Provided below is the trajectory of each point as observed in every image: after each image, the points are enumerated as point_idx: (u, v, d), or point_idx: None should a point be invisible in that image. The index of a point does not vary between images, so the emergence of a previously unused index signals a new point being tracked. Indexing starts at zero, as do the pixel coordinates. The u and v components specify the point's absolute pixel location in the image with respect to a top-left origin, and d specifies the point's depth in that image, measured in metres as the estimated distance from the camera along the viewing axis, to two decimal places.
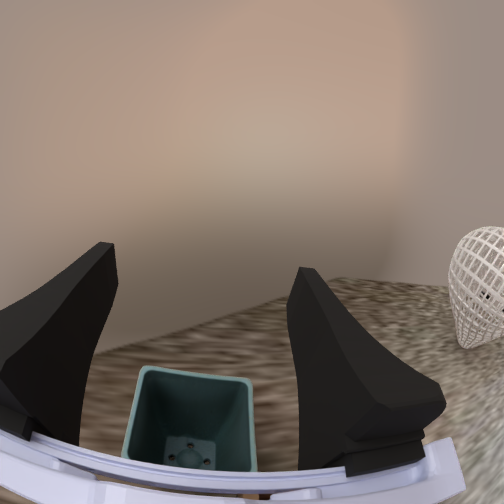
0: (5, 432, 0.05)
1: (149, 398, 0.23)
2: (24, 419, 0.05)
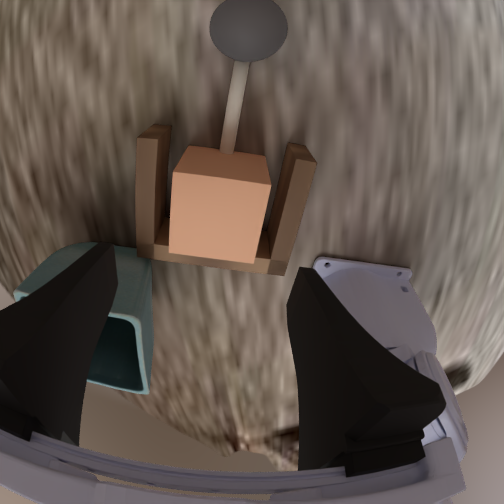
0: (5, 432, 0.05)
1: None
2: (24, 419, 0.05)
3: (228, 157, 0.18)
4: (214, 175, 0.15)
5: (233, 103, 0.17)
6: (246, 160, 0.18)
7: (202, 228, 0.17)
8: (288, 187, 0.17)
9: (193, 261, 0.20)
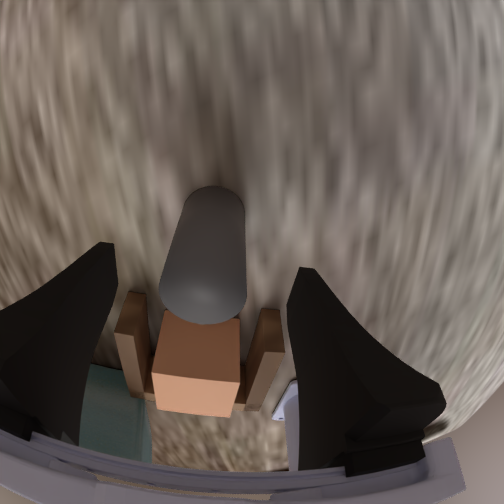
0: (5, 432, 0.05)
1: None
2: (24, 419, 0.05)
3: (202, 332, 0.19)
4: (188, 374, 0.16)
5: None
6: (219, 334, 0.19)
7: (183, 401, 0.18)
8: (258, 366, 0.18)
9: None
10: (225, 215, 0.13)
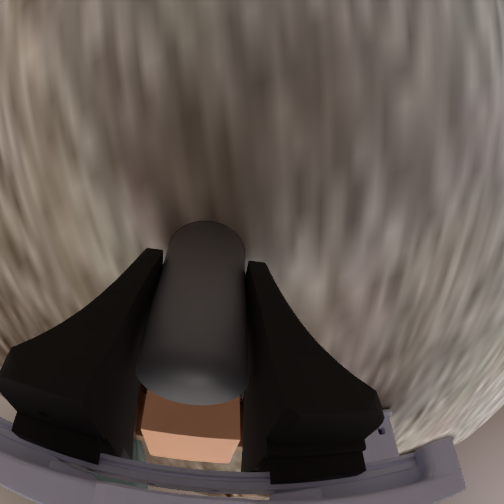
0: (67, 457, 0.05)
1: None
2: (94, 442, 0.05)
3: None
4: (182, 431, 0.13)
5: None
6: None
7: (178, 451, 0.15)
8: None
9: None
10: (220, 267, 0.10)
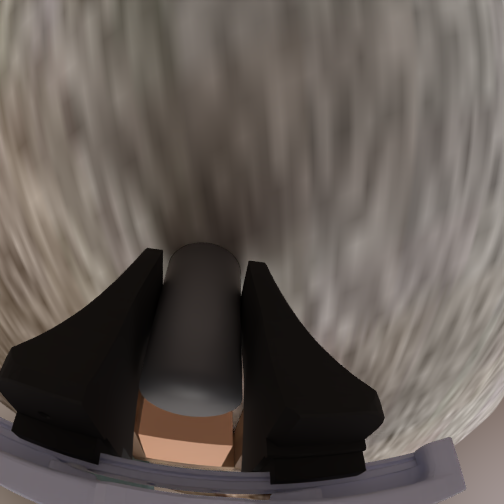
0: (67, 457, 0.05)
1: None
2: (94, 442, 0.05)
3: None
4: (178, 437, 0.14)
5: None
6: None
7: (173, 454, 0.15)
8: None
9: (177, 465, 0.21)
10: (218, 290, 0.11)
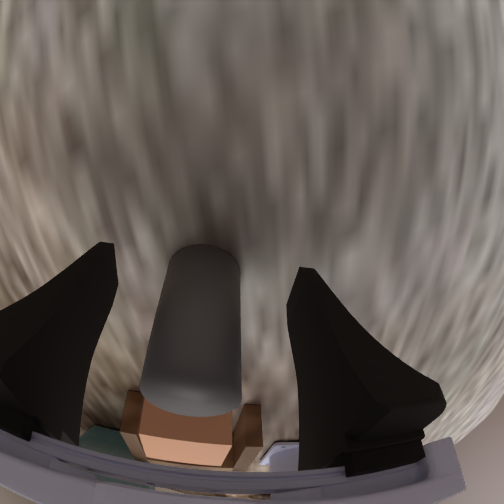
0: (5, 432, 0.05)
1: None
2: (24, 419, 0.05)
3: None
4: (178, 436, 0.14)
5: None
6: None
7: (173, 454, 0.15)
8: (241, 451, 0.19)
9: (177, 466, 0.22)
10: (217, 292, 0.11)
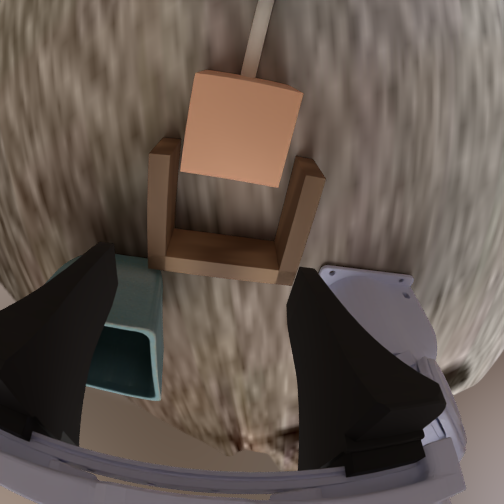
0: (5, 432, 0.05)
1: None
2: (24, 419, 0.05)
3: (251, 78, 0.15)
4: (241, 79, 0.13)
5: (259, 25, 0.14)
6: (270, 82, 0.15)
7: (223, 140, 0.14)
8: (297, 202, 0.18)
9: (203, 272, 0.21)
10: None
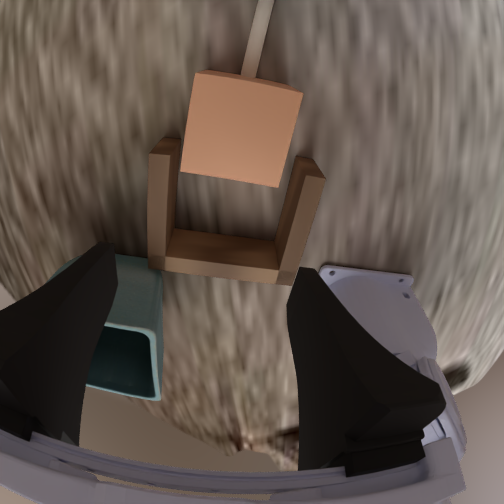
0: (5, 432, 0.05)
1: None
2: (24, 419, 0.05)
3: (251, 78, 0.15)
4: (241, 79, 0.13)
5: (259, 25, 0.14)
6: (270, 82, 0.15)
7: (223, 140, 0.14)
8: (297, 202, 0.18)
9: (203, 272, 0.21)
10: None
